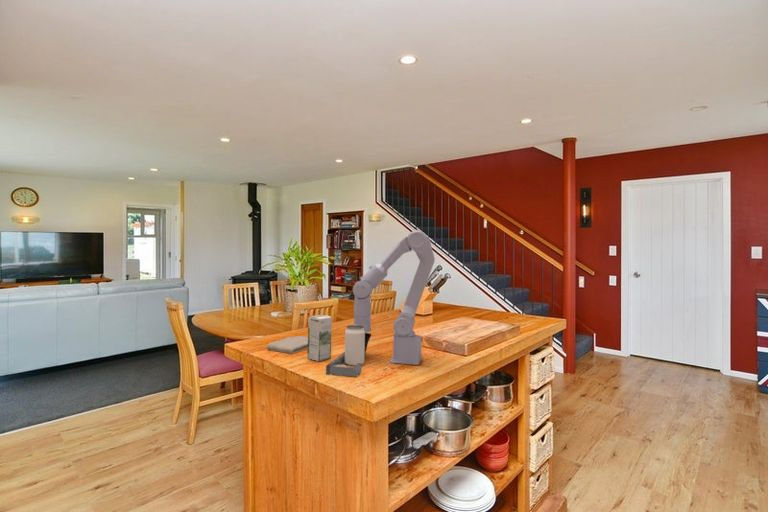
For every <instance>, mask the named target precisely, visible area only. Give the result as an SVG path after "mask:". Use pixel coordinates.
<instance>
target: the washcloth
mask: <svg viewBox="0 0 768 512" xmlns="http://www.w3.org/2000/svg"><path fill="white" fill-rule="evenodd" d="M307 348H308V336H301V335H296V336H287V337H286V338H283V339H279V340H276V341H273V342H270V343H268V344H267V346H266V349H267V350H269V351H274V352H278V353H285V354H289V355H293V354H296V353H299V352H302V351H305V350H308V349H307ZM304 349H305V350H304ZM301 350H302V351H301ZM298 351H299V352H298Z"/></svg>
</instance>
